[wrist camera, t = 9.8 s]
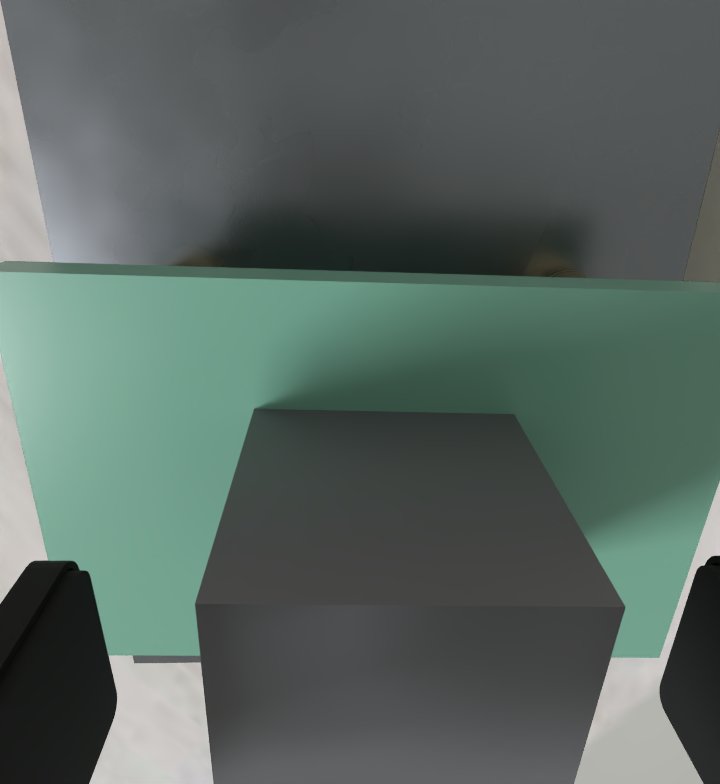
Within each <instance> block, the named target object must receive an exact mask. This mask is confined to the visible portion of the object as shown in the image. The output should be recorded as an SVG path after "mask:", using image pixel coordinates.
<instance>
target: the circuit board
mask: <svg viewBox="0 0 720 784" xmlns="http://www.w3.org/2000/svg"><path fill="white" fill-rule="evenodd" d="M0 354H1V358H2V362H3V367H4V371H5V375H6V380H7V384H8V388H9V393H10V397H11V401H12V406H13V410H14V414H15V419H16V423H17V427H18V432H19V436H20V440H21V445H22V449H23V453H24V458H25V462H26V466H27V471H28V475H29V479H30V484H31V488H32V492H33V497H34V501H35V505H36V510H37V514H38V518H39V523H40V527H41V531H42V536H43V540H44V544H45V549H46V553H47V557H48V561H75V562H76V563H77V564H78V567H79V570H85V571H88V573H89V574H90V577H91V581H92V586H93V590H94V594H95V599H96V603H97V608H98V612H99V617H100V621H101V625H102V630H103V634H104V639H105V643H106V648H107V652H108V655H157V656H200V657H201V667H202V676H203V686H204V695H205V705H206V715H207V724H208V734H209V743H210V753H211V762H212V772H213V781H214V784H574V781H575V778H576V774H577V771H578V767H579V764H580V761H581V757H582V754H583V751H584V747H585V744H586V740H587V737H588V733H589V730H590V727H591V723H592V720H593V716H594V713H595V710H596V706H597V703H598V699H599V696H600V693H601V689H602V686H603V682H604V679H605V676H606V672H607V669H608V665H609V662H610V659H611V657H639V658H659V657H660V654H661V651H662V648H663V645H664V642H665V639H666V636H667V633H668V630H669V627H670V625H671V622H672V619H673V616H674V613H675V610H676V607H677V604H678V601H679V598H680V595H681V592H682V589H683V586H684V583H685V581H686V578H687V575H688V572H689V569H690V566H691V563H692V560H693V557H694V554H695V551H696V548H697V545H698V542H699V539H700V536H701V534H702V531H703V528H704V525H705V522H706V519H707V516H708V513H709V510H710V507H711V504H712V501H713V498H714V495H715V492H716V490H717V487H718V484H719V481H720V282H699V281H665V280H632V279H598V278H564V277H531V276H497V275H463V274H430V273H396V272H362V271H328V270H295V269H261V268H227V267H194V266H160V265H126V264H93V263H59V262H25V261H4V262H2V263H0Z"/></svg>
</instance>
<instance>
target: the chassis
mask: <svg viewBox="0 0 720 784" xmlns="http://www.w3.org/2000/svg"><path fill="white" fill-rule="evenodd" d="M0 1H1V6H2V11H3V15H4V20H5V25H6V30H7V35H8V40H9V45H10V50H11V55H12V60H13V65H14V70H15V75H16V80H17V85H18V90H19V95H20V100H21V105H22V109H23V114H24V119H25V124H26V129H27V134H28V139H29V144H30V149H31V154H32V159H33V164H34V169H35V174H36V179H37V184H38V189H39V194H40V199H41V204H42V208H43V213H44V218H45V223H46V228H47V233H48V238H49V243H50V248H51V253H52V258H53V262H59V263H93V264H126V265H160V266H194V267H227V268H261V269H295V270H328V271H362V272H396V273H430V274H463V275H497V276H531V277H564V278H598V279H632V280H665V281H683V277H684V273H685V269H686V265H687V261H688V257H689V253H690V249H691V244H692V240H693V236H694V232H695V228H696V224H697V220H698V216H699V212H700V208H701V203H702V199H703V195H704V191H705V187H706V183H707V179H708V175H709V171H710V166H711V162H712V158H713V154H714V150H715V146H716V142H717V138H718V134H719V129H720V0H0ZM133 659H134V663H186V662H201V657H200V656H157V655H133Z"/></svg>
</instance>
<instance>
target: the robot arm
mask: <svg viewBox="0 0 720 784" xmlns="http://www.w3.org/2000/svg"><path fill="white" fill-rule="evenodd" d="M660 699H661V703H662V706H663V709H664V711H665V713H666V715H667V717H668V719H669V720H670V722H671V724H672V726H673V728H674V729H675V731H676V733H677V735H678V737H679V739H680V741H681V742H682V744H683V746H684V748H685V750H686V752H687V754H688V755H689V757H690V759H691V761H692V763H693V765H694V767H695V768H696V770H697V772H698V774H699V776H700V778H701V779H702V781H703V783H704V784H720V556H712V557H711V558H709V559H708V560H707V562H706V564H705V566H700V567H699V568H698V569H697V571H696V574H695V577H694V580H693V583H692V586H691V590H690V593H689V596H688V599H687V602H686V605H685V608H684V611H683V615H682V618H681V621H680V624H679V627H678V630H677V633H676V637H675V640H674V643H673V646H672V649H671V652H670V655H669V658H668V662H667V665H666V668H665V671H664V674H663V677H662V680H661V684H660ZM116 705H117V692H116V687H115V683H114V679H113V674H112V670H111V665H110V661H109V656H108V652H107V648H106V643H105V639H104V634H103V630H102V625H101V621H100V617H99V612H98V608H97V603H96V599H95V594H94V590H93V586H92V581H91V577H90V574H89V573H88V571H85V570H79V567H78V564H77V563H76V562H75V561H33V562H31V563H30V564H29V565H28V566H27V567H26V568H25V570H24V571H23V573H22V574H21V575H20V577H19V578H18V580H17V581H16V583H15V584H14V585H13V587H12V588H11V590H10V591H9V592H8V594H7V595H6V597H5V598H4V600H3V601H2V602H1V604H0V784H89V782H90V780H91V777H92V774H93V772H94V769H95V767H96V764H97V761H98V759H99V756H100V753H101V751H102V748H103V746H104V743H105V740H106V738H107V735H108V732H109V730H110V727H111V724H112V722H113V719H114V716H115V711H116Z"/></svg>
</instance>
